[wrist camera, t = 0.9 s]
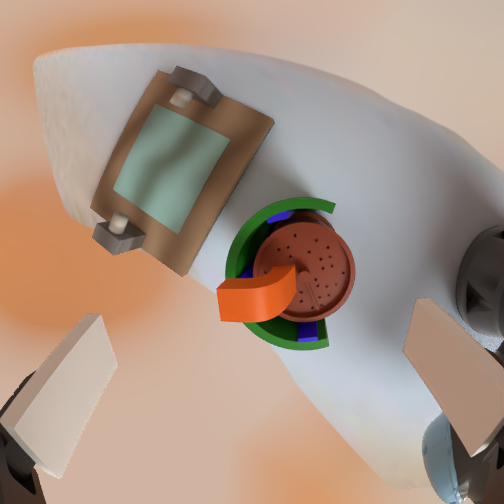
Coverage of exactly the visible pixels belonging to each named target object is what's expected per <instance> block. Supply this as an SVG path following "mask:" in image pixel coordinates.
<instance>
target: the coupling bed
mask: <svg viewBox="0 0 504 504" xmlns="http://www.w3.org/2000/svg"><path fill="white" fill-rule="evenodd" d="M273 125H274V120H273V119H271V118H269V117H267V116H265V115H264V114H262V113H260V112H257V111H255V110H253V109H251V108H249V107H247V106H245V105H243V104H241V103H239V102H237V101H234V100H232V99H230V98H228V97H225V96H223V95H222V94H221V93H220V92H219V90H218V89H217V88H216V87H215V86H214V85H213V84H212V83H211V81H210V80H209V79H208V78H207V77H206V76H204V75H201V74H198V73H196V72H193V71H190V70H187V69H184V68H182V67H179V66H177V67H176V68H175V70H174V71H173V73H172V74H171V75H170V74H167V73H164V72H161V71H159V70H158V72H157V73H156V75H155V77H154V78H153V80H152V81H151V83H150V84H149V86H148V88H147V89H146V91H145V93H144V94H143V96H142V98H141V99H140V101H139V103H138V105H137V106H136V108H135V110H134V112H133V114H132V115H131V117H130V119H129V121H128V123H127V125H126V127H125V129H124V131H123V133H122V134H121V136H120V138H119V141H118V143H117V145H116V147H115V149H114V151H113V153H112V155H111V157H110V160H109V162H108V164H107V166H106V169H105V171H104V173H103V176H102V178H101V180H100V183H99V185H98V188H97V190H96V193H95V196H94V198H93V201H92V204H91V206H90V208H91V209H92V210H94V211H95V212H96V213H97V214H99V215H100V216H101V217H102V218H104V219H105V220H106V221H107V222H101V223H97V225H96V227H95V230H94V233H93V236H92V238H93V239H95V240H96V241H97V242H98V243H99V244H100V245H102V246H103V247H104V248H105V249H106V250H108V251H109V252H110V253H111V254H112V255H117V254H120V253H124V252H127V251H130V250H133V249H137V248H140V247H141V248H143V249H144V250H145V251H147V252H148V253H149V254H151V255H152V256H154V257H155V258H156V259H158V260H159V261H161V262H162V263H163V264H165V265H166V266H167V267H169V268H170V269H172V270H173V271H174V272H176V273H177V274H179V275H180V276H181V277H183V276H184V275H186V274H187V273H188V271H189V269H190V267H191V265H192V263H193V262H194V260H195V258H196V256H197V254H198V252H199V251H200V249H201V247H202V245H203V243H204V241H205V240H206V238H207V236H208V234H209V232H210V231H211V229H212V227H213V225H214V223H215V222H216V220H217V218H218V216H219V215H220V213H221V211H222V209H223V208H224V206H225V204H226V202H227V201H228V199H229V197H230V195H231V194H232V192H233V190H234V189H235V187H236V185H237V184H238V182H239V180H240V178H241V177H242V175H243V173H244V172H245V170H246V168H247V167H248V165H249V163H250V162H251V160H252V158H253V157H254V155H255V154H256V152H257V150H258V149H259V147H260V145H261V144H262V142H263V141H264V139H265V137H266V136H267V134H268V133H269V131H270V129H271V128H272V126H273Z"/></svg>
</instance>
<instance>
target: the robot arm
mask: <svg viewBox="0 0 504 504" xmlns="http://www.w3.org/2000/svg"><path fill="white" fill-rule="evenodd" d="M456 299H457V306H458V309H459V312H460V315H461V317H462V318H463V320H464V321H465V322H466V323H467V324H468V325H469V326H470V327H471V328H472V329H474V330H475V331H477V332H478V333H481V334H484V335H489V336H494V337H499V338H504V227H502V226H496V227H492V228H489V229H487V230H485V231H484V232H482V233H481V234H480V235H479V236H478V237H477V238H476V239H475V240H474V241H473V243H472V244H471V245H470V247H469V249H468V250H467V252H466V254H465V256H464V258H463V261H462V263H461V266H460V270H459V273H458V278H457V286H456ZM403 353H404V354H405V355H406V357H407V358H408V360H409V361H410V363H411V364H412V365H413V367H414V368H415V370H416V371H417V373H418V374H419V376H420V377H421V378H422V380H423V381H424V383H425V384H426V386H427V387H428V389H429V390H430V392H431V393H432V395H433V396H434V398H435V399H436V401H437V403H438V404H439V406H440V407H441V409H442V410H443V412H442V413H441V414H440V415H439V416H438V417H437V418H436V419H435V420H434V421H433V422H432V423H431V424H430V425H429V426H428V428H427V429H426V431H425V434H424V437H423V443H422V453H423V460H424V465H425V469H426V472H427V475H428V478H429V480H430V483H431V485H432V487H433V488H434V490H435V492H436V493H437V495H438V496H439V497H440V498H441V500H443V501H444V502H445V503H449V504H459V503H462V502H464V501H465V500H466V498H470V499H471V500H472V501H473V503H474V504H504V341H503V342H502V343H501V345H500V346H499V348H498V349H497V350H496V351H495V353H493V352H492V351H490V350H488V349H486V348H483V347H482V346H481V345H480V344H479V343H478V342H477V341H476V340H475V339H474V338H473V337H472V336H471V335H470V334H469V333H468V332H467V331H466V330H465V329H464V328H463V327H462V326H461V325H460V324H459V323H457V322H456V321H455V320H454V319H453V318H452V317H451V316H450V315H449V314H448V313H446V312H445V311H444V310H443V309H442V308H441V307H440V306H439V305H438V304H436V303H435V302H434V301H433V300H432V299H431V298H430V297H427V298H420V299H416V300H415V305H414V309H413V313H412V318H411V322H410V326H409V330H408V334H407V337H406V341H405V344H404V348H403ZM117 367H118V363H117V360H116V357H115V355H114V352H113V349H112V346H111V344H110V340H109V338H108V335H107V332H106V328H105V326H104V322H103V319H102V316H101V314H92V313H87V314H86V315H85V316H84V317H83V318H82V319H81V320H80V321H79V322H78V323H77V324H76V326H75V327H74V328H73V329H72V330H71V331H70V332H69V333H68V334H67V336H66V337H65V338H64V339H63V340H62V341H61V343H59V345H58V346H57V347H56V348H55V349H54V350H53V352H52V353H51V354H50V355H49V356H48V358H47V359H46V360H45V361H44V362H43V364H42V365H41V366H40V367H39V368H38V370H37V371H35V372H33V373H32V374H30V375H29V376H27V377H26V378H25V379H24V380H23V382H22V383H21V384H20V385H19V388H17V389H16V391H15V392H14V395H12V396H11V397H10V398H9V400H8V401H7V402H6V404H5V405H4V406H3V408H2V409H1V410H0V504H46V501H45V498H44V495H43V492H42V489H41V485H40V481H39V477H38V474H37V472H36V470H35V469H34V468H33V467H34V465H35V463H36V464H37V465H38V466H39V467H40V468H41V469H42V470H43V471H44V472H46V473H48V474H50V475H52V476H54V477H56V478H59V479H61V478H62V476H63V473H64V471H65V469H66V467H67V465H68V462H69V460H70V458H71V456H72V454H73V452H74V449H75V447H76V445H77V443H78V441H79V439H80V437H81V435H82V433H83V431H84V429H85V427H86V425H87V423H88V421H89V419H90V417H91V415H92V413H93V411H94V409H95V407H96V405H97V403H98V401H99V400H100V398H101V396H102V394H103V392H104V390H105V388H106V387H107V385H108V383H109V381H110V379H111V377H112V376H113V374H114V372H115V370H116V368H117Z"/></svg>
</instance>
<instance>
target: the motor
mask: <svg viewBox="0 0 504 504" xmlns="http://www.w3.org/2000/svg"><path fill="white" fill-rule="evenodd" d="M335 205H336V204H335V203H332V202H330V201H326V200H322V199H317V198H308V197H301V198H292V199H287V200H283V201H279V202H276V203H274V204H272V205H269V206H267V207H266V208H264V209H262V210H261V211H259V212H258V213H256V214H255V215H254V216H253V217H251V218H250V219H249V220H248V221H247V222H246V223H245V224H244V226H243V227H242V228H241V229H240V231H239V232H238V234H237V235H236V237H235V239H234V241H233V243H232V245H231V247H230V250H229V253H228V257H227V261H226V270H225V279H226V280H225V281H224V282H223V283H222V284H221V285H220V286H219V287H218V288H217V297H218V304H219V310H220V318H221V321H228V322H243V323H244V324H245V325H246V327H247V328H248V329H250V330H251V331H252V332H253V333H254V334H255V335H257V336H258V337H260V338H261V339H263V340H265V341H267V342H269V343H271V344H273V345H276V346H278V347H282V348H286V349H291V350H315V349H321V348H325V347H328V346H329V341H328V335H327V328H326V322H325V317H328V316H329V315H331V314H333V313H334V312H335V311H337V310H338V309H339V308H340V307H341V306H342V305H343V304H344V303H345V301H346V300H347V298H348V297H349V295H350V293H351V291H352V288H353V285H354V280H355V264H354V259H353V256H352V253H351V251H350V249H349V247H348V246H347V244H346V243H345V241H344V240H343V239H342V238H341V237H340V236H339V235H338V234H337V233H336V232H335V230H334V228H333V227H332V226H331V224H330V223H329V222H328V221H327V220H326V219H324V218H323V217H321V216H320V215H318V214H316V213H313V212H308V211H299V212H295V209H301V208H309V209H317V210H322V211H325V212H328V213H331V214H332V212H333V210H334V207H335ZM279 220H281V221H280V222H279V223H278V224H277V225H276V226H275V228H274V229H273V231H272V233H271V235H270V236H269V237H268V238H267V234H268V231H269V228H270V226H271V224H272V223H273V222H275V221H279Z"/></svg>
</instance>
